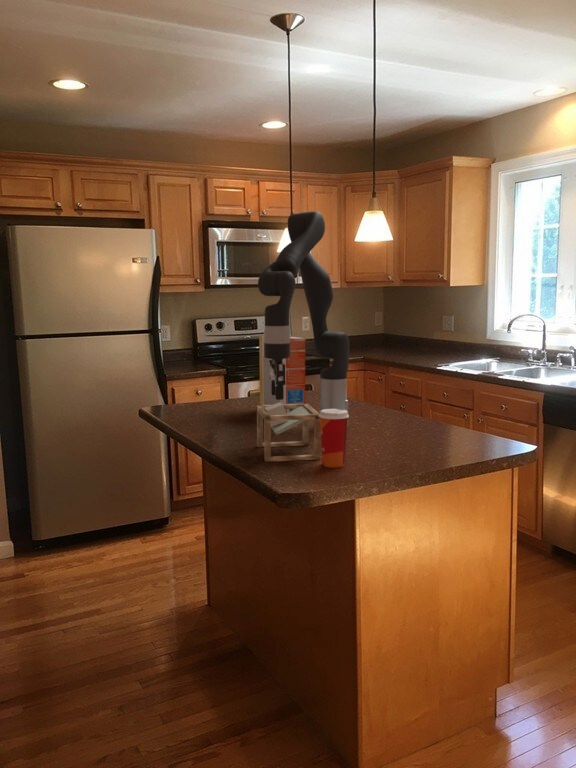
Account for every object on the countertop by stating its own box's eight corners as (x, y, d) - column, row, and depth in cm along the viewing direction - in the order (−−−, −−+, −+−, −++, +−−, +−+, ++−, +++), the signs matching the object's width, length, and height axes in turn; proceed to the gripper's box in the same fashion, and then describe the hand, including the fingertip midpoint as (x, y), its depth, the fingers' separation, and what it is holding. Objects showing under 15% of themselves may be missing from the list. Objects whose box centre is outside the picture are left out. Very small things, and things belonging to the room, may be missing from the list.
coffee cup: (330, 459, 183) (330, 407, 181) (354, 464, 178) (355, 410, 176) (312, 465, 177) (312, 411, 174) (336, 470, 171) (337, 415, 169)
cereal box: (305, 418, 244) (305, 338, 240) (286, 420, 240) (285, 339, 236) (277, 408, 264) (277, 334, 260) (259, 410, 260) (259, 335, 256)
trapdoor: (303, 408, 198) (302, 405, 198) (313, 417, 183) (311, 414, 183) (269, 424, 197) (268, 422, 196) (276, 435, 182) (275, 432, 182)
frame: (307, 444, 202) (307, 403, 200) (320, 459, 183) (320, 414, 181) (257, 446, 199) (256, 405, 197) (265, 461, 181) (264, 416, 179)
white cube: (285, 417, 192) (280, 402, 191) (288, 420, 187) (283, 404, 186) (269, 423, 192) (264, 407, 191) (272, 426, 187) (266, 410, 186)
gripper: (294, 343, 180) (294, 400, 182) (285, 339, 194) (286, 393, 196) (267, 343, 178) (267, 401, 181) (260, 340, 192) (261, 393, 195)
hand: (277, 397), depth 188 cm, fingers open, 8 cm apart
